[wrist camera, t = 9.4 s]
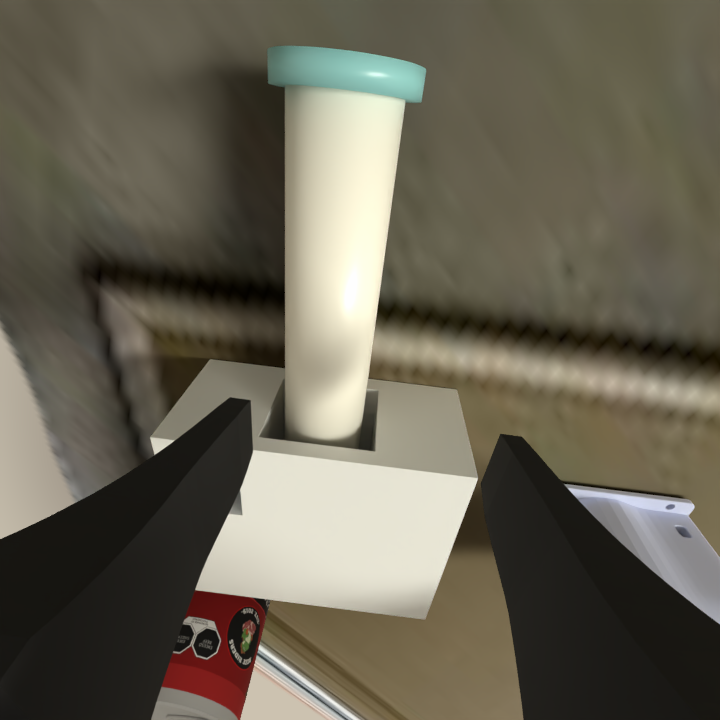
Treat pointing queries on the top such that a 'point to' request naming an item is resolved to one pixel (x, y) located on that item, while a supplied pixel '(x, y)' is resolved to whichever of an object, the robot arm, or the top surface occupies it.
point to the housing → (337, 496)
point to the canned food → (212, 658)
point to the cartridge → (336, 226)
